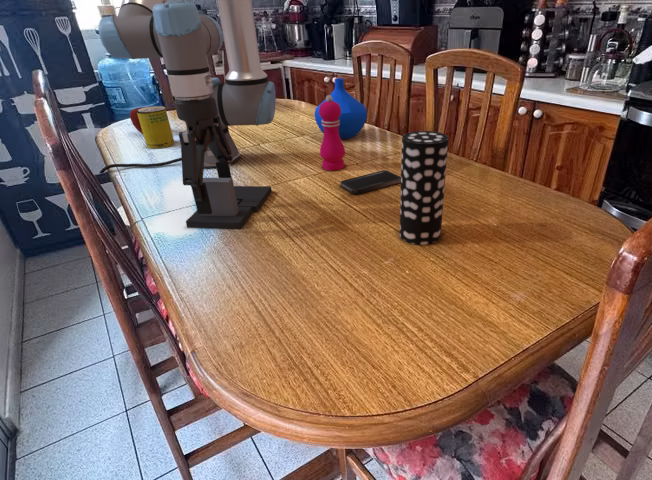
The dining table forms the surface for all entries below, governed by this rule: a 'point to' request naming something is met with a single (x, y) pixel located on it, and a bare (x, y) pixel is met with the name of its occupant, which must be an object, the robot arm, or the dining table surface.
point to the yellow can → (155, 127)
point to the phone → (370, 182)
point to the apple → (136, 119)
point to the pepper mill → (331, 136)
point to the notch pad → (252, 196)
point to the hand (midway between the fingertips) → (217, 200)
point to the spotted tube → (422, 186)
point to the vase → (345, 112)
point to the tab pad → (220, 220)
